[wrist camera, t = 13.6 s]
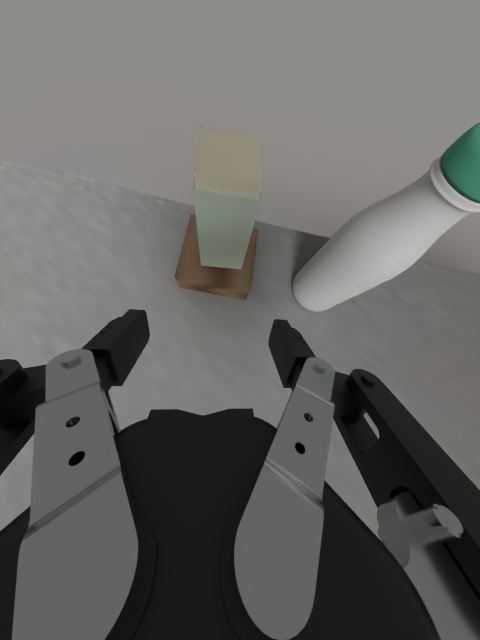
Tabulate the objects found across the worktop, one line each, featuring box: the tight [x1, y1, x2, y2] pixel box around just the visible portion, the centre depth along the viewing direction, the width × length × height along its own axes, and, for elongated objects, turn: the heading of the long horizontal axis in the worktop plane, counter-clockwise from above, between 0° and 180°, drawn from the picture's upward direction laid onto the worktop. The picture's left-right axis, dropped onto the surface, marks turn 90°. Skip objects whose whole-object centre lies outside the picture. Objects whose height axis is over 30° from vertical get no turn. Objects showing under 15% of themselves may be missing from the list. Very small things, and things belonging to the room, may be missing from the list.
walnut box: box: [175, 215, 258, 299], centre depth 26 cm, size 10×10×4 cm
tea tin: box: [193, 127, 263, 269], centre depth 18 cm, size 5×5×11 cm
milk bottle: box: [292, 123, 480, 312], centre depth 19 cm, size 8×8×20 cm
